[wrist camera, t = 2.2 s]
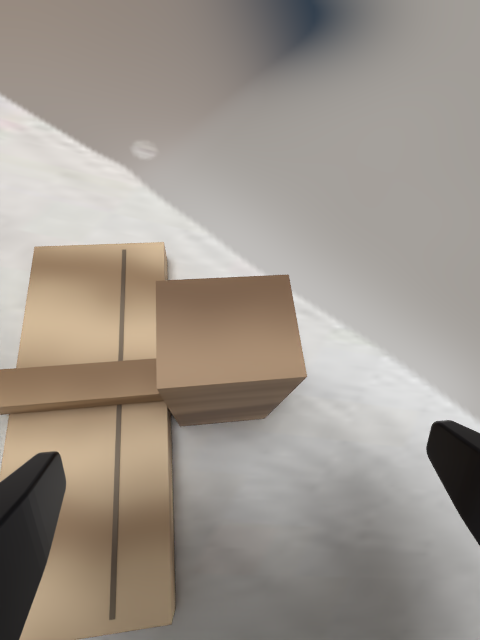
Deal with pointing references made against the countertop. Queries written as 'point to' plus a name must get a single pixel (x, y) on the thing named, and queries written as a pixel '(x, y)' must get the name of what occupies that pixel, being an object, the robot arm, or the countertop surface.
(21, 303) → the countertop surface
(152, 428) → the board
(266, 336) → the gauge
